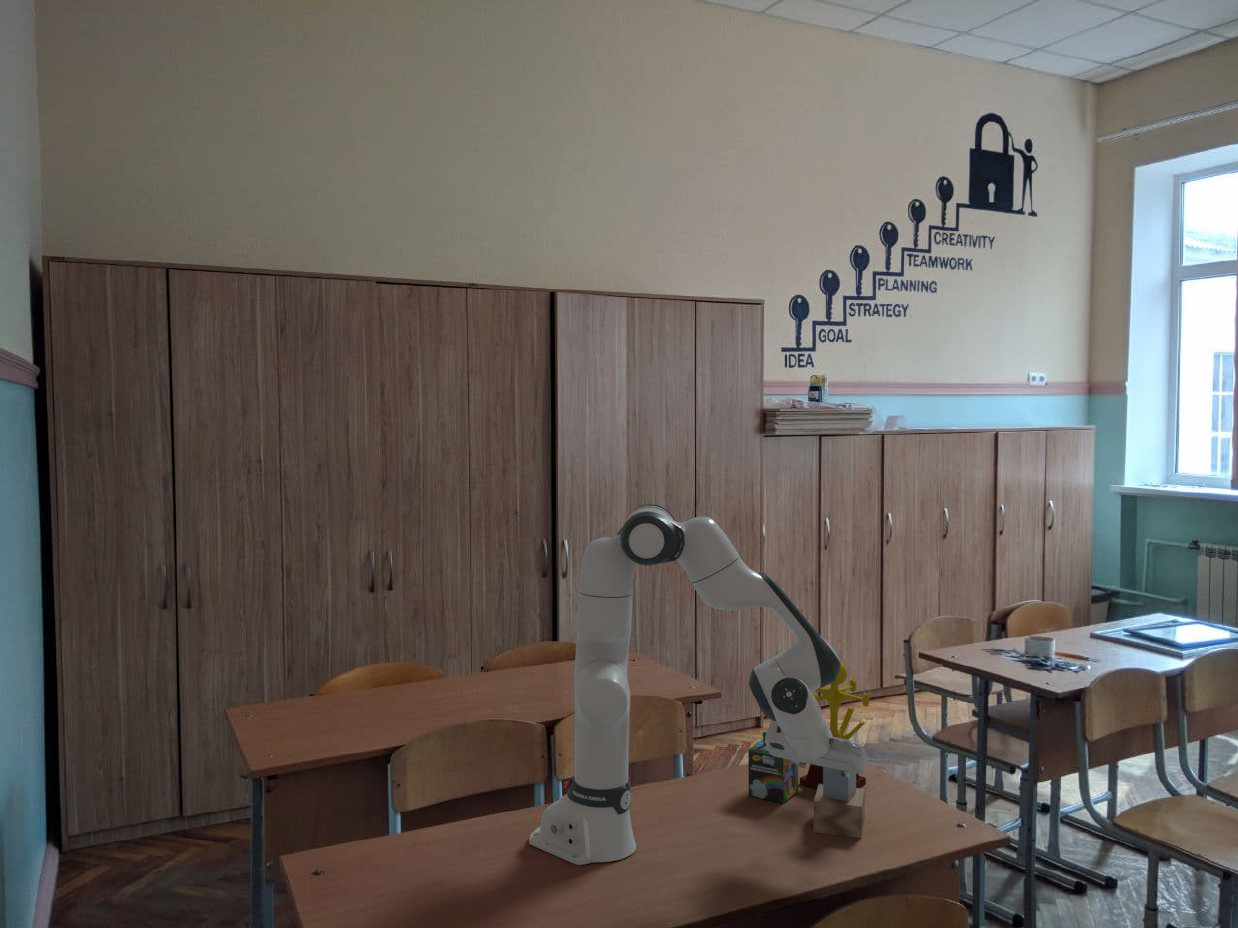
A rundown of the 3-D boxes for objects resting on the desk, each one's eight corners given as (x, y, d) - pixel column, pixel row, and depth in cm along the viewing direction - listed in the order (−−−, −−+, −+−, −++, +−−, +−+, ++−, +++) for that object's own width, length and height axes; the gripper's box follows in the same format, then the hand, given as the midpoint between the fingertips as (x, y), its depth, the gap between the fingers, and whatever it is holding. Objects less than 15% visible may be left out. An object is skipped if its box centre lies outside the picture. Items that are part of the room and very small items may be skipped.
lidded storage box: (822, 796, 211) (822, 755, 211) (830, 787, 216) (831, 747, 216) (848, 802, 208) (848, 760, 208) (856, 792, 213) (857, 752, 213)
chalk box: (799, 791, 232) (799, 729, 231) (784, 804, 224) (784, 740, 223) (762, 783, 237) (763, 723, 236) (746, 796, 229) (747, 733, 228)
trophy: (793, 772, 244) (794, 653, 242) (855, 772, 244) (857, 653, 242) (805, 795, 229) (806, 668, 228) (871, 795, 229) (873, 668, 228)
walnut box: (813, 832, 209) (813, 800, 209) (818, 814, 219) (818, 783, 218) (861, 839, 206) (862, 806, 206) (864, 820, 216) (865, 788, 215)
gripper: (863, 730, 192) (877, 764, 201) (766, 713, 202) (782, 746, 211) (856, 760, 188) (870, 793, 197) (757, 740, 199) (774, 773, 208)
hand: (824, 768), depth 204 cm, fingers open, 8 cm apart
